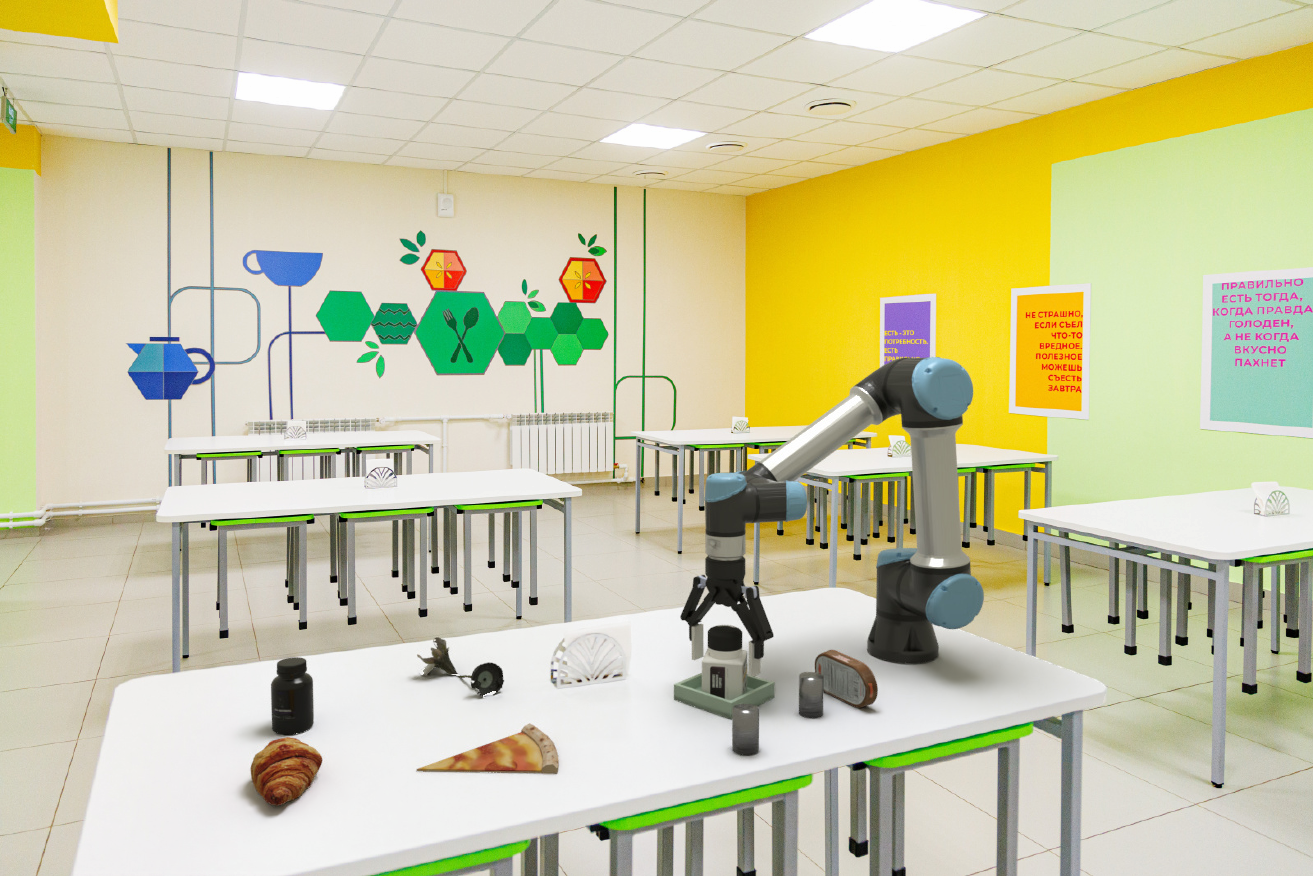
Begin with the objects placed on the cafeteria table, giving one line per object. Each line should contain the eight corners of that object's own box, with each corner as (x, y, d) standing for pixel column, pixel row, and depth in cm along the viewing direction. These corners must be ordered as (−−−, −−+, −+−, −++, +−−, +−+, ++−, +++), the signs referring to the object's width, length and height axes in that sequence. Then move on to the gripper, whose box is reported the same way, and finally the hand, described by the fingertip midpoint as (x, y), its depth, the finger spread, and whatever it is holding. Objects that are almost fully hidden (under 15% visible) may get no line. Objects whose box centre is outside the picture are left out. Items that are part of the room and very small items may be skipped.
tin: (878, 711, 162) (879, 666, 161) (865, 715, 160) (866, 670, 159) (823, 685, 175) (824, 644, 174) (811, 688, 173) (811, 646, 172)
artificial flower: (470, 710, 166) (453, 663, 164) (419, 690, 183) (403, 646, 181) (509, 687, 171) (493, 640, 169) (456, 669, 189) (441, 626, 187)
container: (742, 704, 163) (743, 635, 162) (701, 700, 164) (701, 632, 163) (747, 688, 170) (747, 623, 169) (707, 685, 172) (707, 620, 171)
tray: (718, 680, 177) (718, 665, 177) (774, 697, 168) (774, 682, 168) (673, 699, 167) (673, 684, 167) (731, 719, 158) (731, 703, 158)
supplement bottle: (273, 739, 150) (270, 670, 149) (270, 724, 156) (267, 658, 155) (316, 731, 153) (314, 664, 152) (312, 717, 159) (309, 652, 158)
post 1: (742, 741, 149) (743, 701, 148) (764, 749, 146) (764, 708, 145) (726, 750, 146) (727, 709, 145) (748, 758, 143) (748, 716, 142)
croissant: (272, 775, 144) (245, 737, 143) (329, 740, 147) (303, 701, 145) (261, 839, 125) (230, 795, 123) (327, 796, 127) (297, 752, 125)
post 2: (807, 707, 164) (807, 670, 163) (827, 713, 161) (828, 676, 160) (793, 714, 160) (794, 676, 160) (814, 720, 157) (815, 682, 157)
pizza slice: (443, 732, 154) (443, 721, 154) (570, 733, 153) (570, 722, 153) (416, 774, 138) (416, 762, 138) (557, 776, 138) (557, 764, 137)
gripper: (662, 549, 171) (663, 656, 173) (768, 570, 154) (768, 687, 156) (687, 543, 176) (687, 647, 178) (792, 562, 160) (792, 676, 161)
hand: (725, 666), depth 167 cm, fingers open, 13 cm apart
